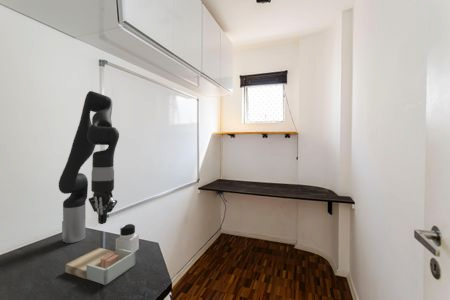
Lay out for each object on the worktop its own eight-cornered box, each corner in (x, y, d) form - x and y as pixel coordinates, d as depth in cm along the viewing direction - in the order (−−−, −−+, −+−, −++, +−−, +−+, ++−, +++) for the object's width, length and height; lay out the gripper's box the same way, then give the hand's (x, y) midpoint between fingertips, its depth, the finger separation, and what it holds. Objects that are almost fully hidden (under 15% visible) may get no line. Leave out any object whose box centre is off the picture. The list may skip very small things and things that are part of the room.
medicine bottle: (139, 248, 97) (139, 223, 97) (130, 256, 90) (130, 229, 90) (124, 247, 98) (124, 222, 98) (115, 255, 91) (115, 228, 91)
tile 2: (104, 260, 78) (108, 261, 77) (115, 254, 82) (118, 255, 82) (104, 272, 78) (108, 273, 78) (115, 265, 82) (118, 266, 82)
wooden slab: (65, 272, 79) (65, 264, 79) (99, 254, 92) (99, 247, 92) (85, 279, 75) (85, 270, 75) (118, 259, 88) (118, 252, 88)
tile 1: (100, 258, 79) (104, 259, 78) (110, 253, 83) (114, 254, 83) (100, 270, 79) (104, 271, 79) (110, 264, 83) (114, 265, 83)
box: (86, 278, 75) (86, 264, 75) (117, 259, 88) (118, 247, 88) (105, 285, 72) (105, 270, 72) (135, 264, 85) (135, 252, 84)
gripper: (81, 178, 80) (80, 223, 80) (106, 181, 75) (106, 229, 75) (99, 176, 87) (99, 217, 87) (123, 178, 82) (123, 222, 82)
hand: (102, 223), depth 81 cm, fingers closed
